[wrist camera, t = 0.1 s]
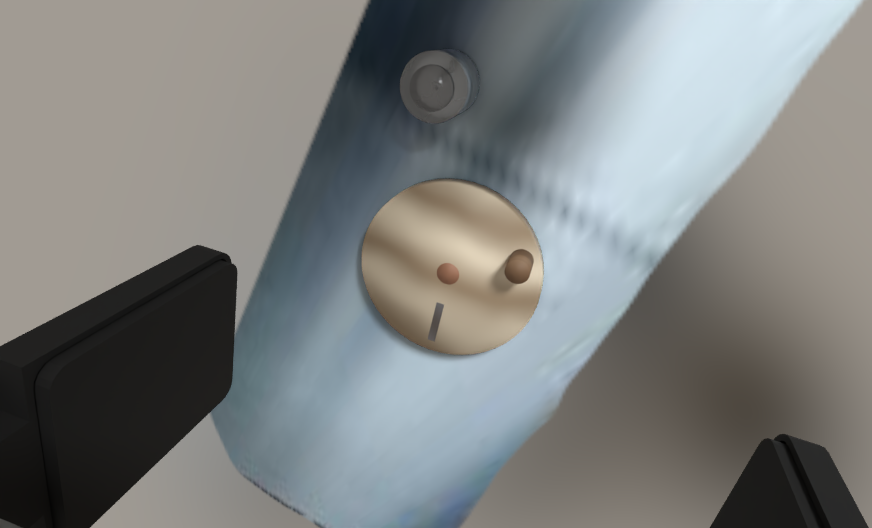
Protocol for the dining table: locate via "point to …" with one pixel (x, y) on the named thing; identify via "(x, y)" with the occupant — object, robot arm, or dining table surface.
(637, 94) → the dining table surface
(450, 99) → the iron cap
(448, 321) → the turntable
